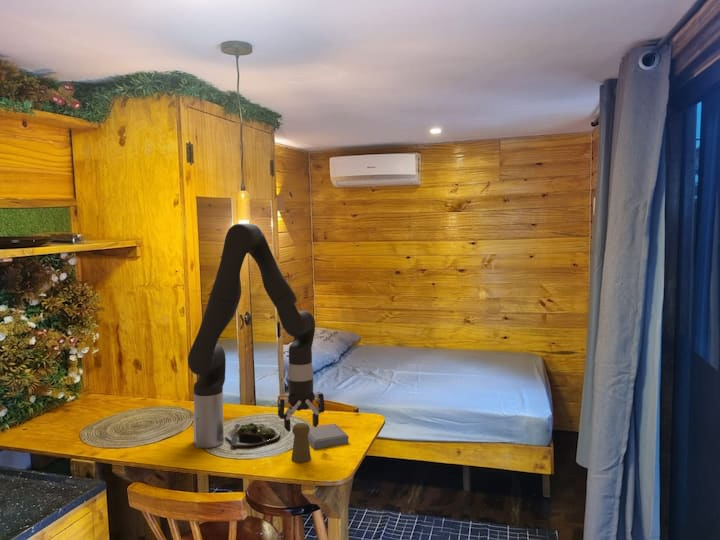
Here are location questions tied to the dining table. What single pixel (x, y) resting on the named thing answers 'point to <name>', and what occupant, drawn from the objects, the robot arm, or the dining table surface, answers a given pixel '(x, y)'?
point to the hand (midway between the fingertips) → (301, 428)
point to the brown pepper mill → (301, 443)
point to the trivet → (326, 436)
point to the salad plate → (252, 435)
